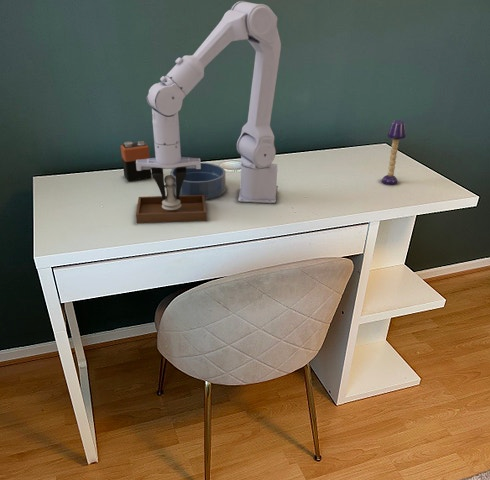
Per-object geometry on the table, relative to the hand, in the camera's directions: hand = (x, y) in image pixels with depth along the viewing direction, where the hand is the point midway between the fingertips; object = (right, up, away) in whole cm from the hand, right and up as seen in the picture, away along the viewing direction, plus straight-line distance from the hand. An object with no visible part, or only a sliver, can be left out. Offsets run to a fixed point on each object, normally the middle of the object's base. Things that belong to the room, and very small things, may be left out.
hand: (171, 197), depth 119 cm
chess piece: (0, -2, +1) cm, 2 cm away
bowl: (+5, +5, +14) cm, 16 cm away
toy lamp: (+58, +8, +21) cm, 62 cm away
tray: (0, -3, +2) cm, 4 cm away
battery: (-12, +9, +21) cm, 26 cm away
